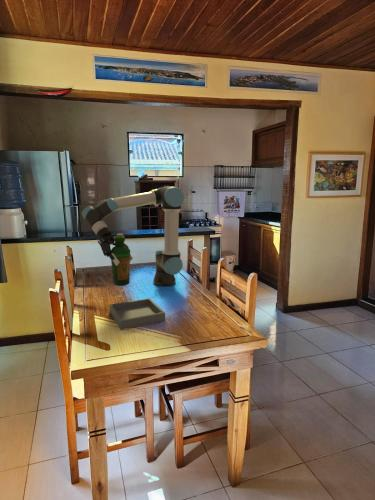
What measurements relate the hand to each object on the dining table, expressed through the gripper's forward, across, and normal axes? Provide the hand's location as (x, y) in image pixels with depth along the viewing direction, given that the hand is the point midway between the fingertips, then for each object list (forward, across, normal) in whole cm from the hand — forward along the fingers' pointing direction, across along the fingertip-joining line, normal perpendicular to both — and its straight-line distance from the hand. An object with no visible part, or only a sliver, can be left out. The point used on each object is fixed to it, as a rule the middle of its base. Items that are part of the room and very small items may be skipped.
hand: (124, 261), depth 172 cm
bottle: (+7, 0, -12) cm, 14 cm away
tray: (+28, +10, -7) cm, 30 cm away
